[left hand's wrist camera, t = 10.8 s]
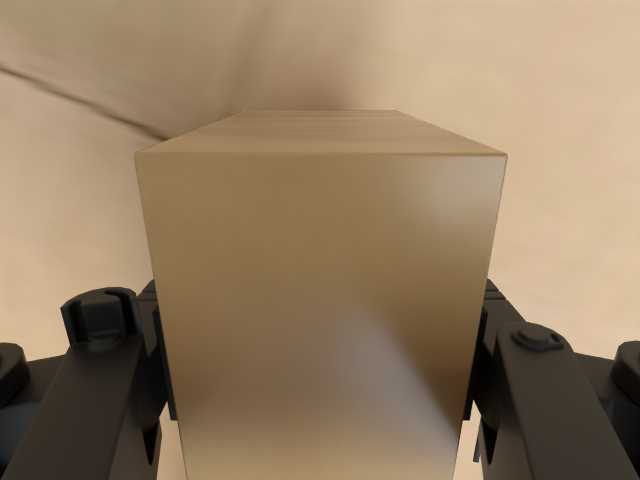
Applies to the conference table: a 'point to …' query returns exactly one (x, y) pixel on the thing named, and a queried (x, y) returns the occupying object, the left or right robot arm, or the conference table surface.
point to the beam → (320, 290)
